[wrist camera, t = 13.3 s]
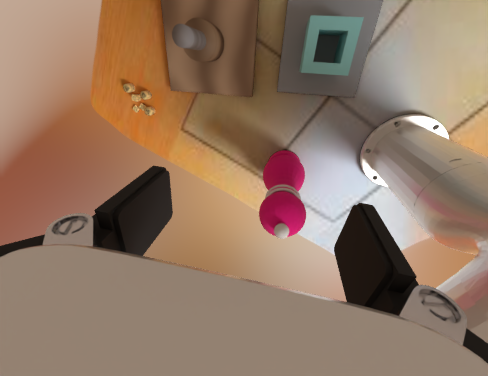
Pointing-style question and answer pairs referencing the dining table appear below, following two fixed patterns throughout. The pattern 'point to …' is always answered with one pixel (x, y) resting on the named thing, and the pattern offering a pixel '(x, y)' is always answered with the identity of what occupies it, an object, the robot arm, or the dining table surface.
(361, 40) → the mat
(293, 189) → the pepper mill
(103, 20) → the dining table surface
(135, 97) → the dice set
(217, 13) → the stand
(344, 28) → the collar
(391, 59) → the dining table surface
